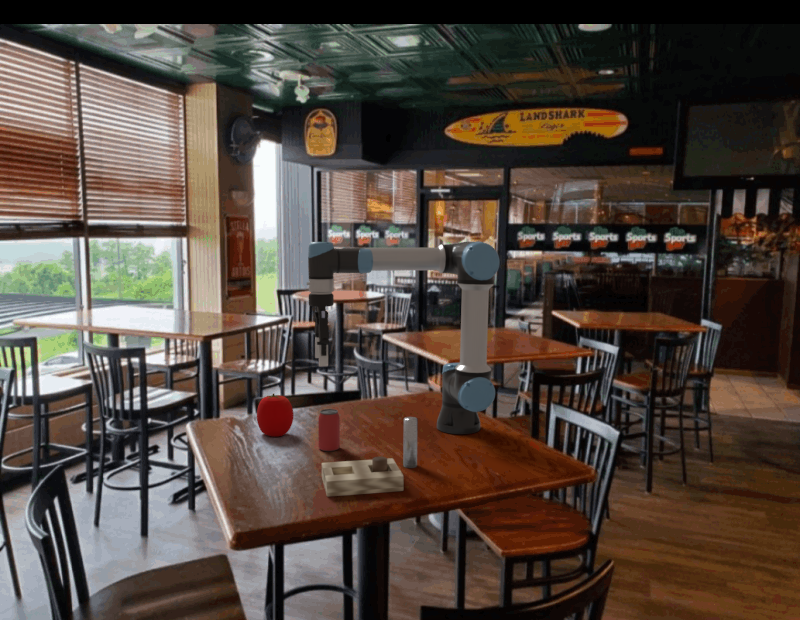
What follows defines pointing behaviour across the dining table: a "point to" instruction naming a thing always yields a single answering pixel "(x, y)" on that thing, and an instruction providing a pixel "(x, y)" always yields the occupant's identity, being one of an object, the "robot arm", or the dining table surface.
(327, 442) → the beer can
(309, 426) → the dining table surface
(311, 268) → the robot arm
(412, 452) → the steel pin
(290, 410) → the tomato
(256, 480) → the dining table surface
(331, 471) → the socket block
